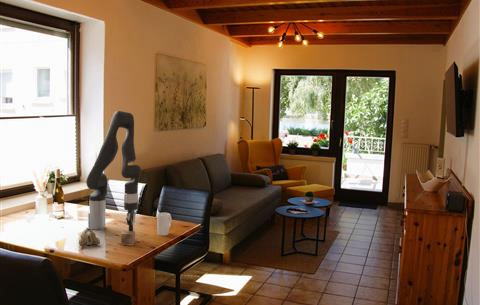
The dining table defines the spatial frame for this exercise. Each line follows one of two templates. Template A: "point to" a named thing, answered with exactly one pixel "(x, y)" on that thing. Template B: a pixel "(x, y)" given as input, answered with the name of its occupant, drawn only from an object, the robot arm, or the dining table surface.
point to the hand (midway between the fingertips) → (130, 231)
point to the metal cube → (127, 237)
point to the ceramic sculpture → (88, 238)
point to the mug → (163, 223)
